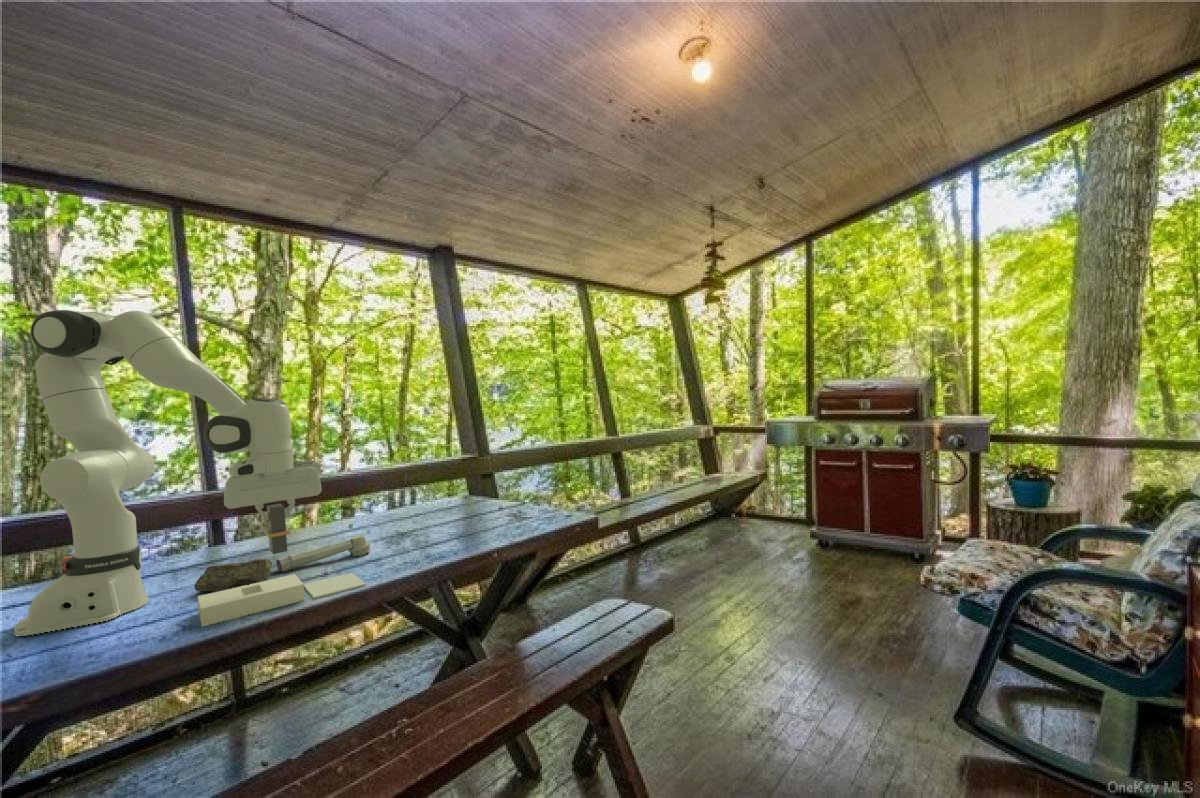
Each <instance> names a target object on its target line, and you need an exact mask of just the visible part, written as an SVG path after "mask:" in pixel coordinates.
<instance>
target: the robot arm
mask: <svg viewBox="0 0 1200 798" xmlns="http://www.w3.org/2000/svg"><path fill="white" fill-rule="evenodd" d="M30 336H31V339H32V342H33V343H34V345H35V346H36V347H37V348H38V349H39V350H40V351H42V352H44V353H43V354H41V355H40V356H39V357H38V358H37V359H36V361H35V376H36V381H37V382H36V383H37V387H38V391H39V395H40V397H41V401H42V403H43V405H44V406H43V407H44V408H45V412H46V415H47V417H48V420H49V424H50V426H51V429H52V431H53V432H54V433H55V434H56V435H58V436H59V437H60V438H63V439H65V440H66V441H68V442H69V443H70V444H71V445H72V446H73V447H74V448H75V450H77V451H76V452H72V453H69V454H66V455H64V456H61V457H59V458H56V459H54V460H52V461H50V462H48V464H46V465H45V466H44V468H43V469H42V470H41V473H40V476H39V482H40V486H41V489H42V490H43V492H44V493H45V495H47V496H49V497H50V498H53V499H54V500H56V501H57V502H59V504H60V505H61V506H62V507H63V509H64V512H65V513H66V515H67V517H68V519H69V523H70V526H71V531H72V540H73V554H74V556H70V555H68V556H64V558H63V559H62V560H61V571H62V574H63V575H61V576H60V577H59V578H57V579H56V580H55V581H53V582H52V583H51V584H49V586H47V587H46V588H44V589H43V590H41V591H40V592H39V593H38V594H37V595H36V596H35V597H34V598H33V599H32V601H31V602H30V605H29V608H28V612H27V616H26V617H24V618H23V619H21V620H19V621H18V622H17V623H16V624H15V626H14V628H13V635H14V634H16V635H19V636H25V635H32V634H37V635H39V634H38V633H43V634H45V633H44V632H48V633H51V632H50V631H53V632H56V631H55V630H58V631H62V630H61V629H64V630H67V629H66V628H69V629H71V628H70V627H74V628H78V627H77V626H80V627H83V626H82V625H85V626H89V625H88V624H90V625H94V624H93V623H96V624H99V623H98V622H101V623H104V622H103V621H106V622H109V621H108V620H110V621H112V620H111V619H113V618H115V617H117V616H119V615H120V616H122V615H124V614H123V613H125V614H127V613H130V612H132V610H133V611H134V610H137V609H140V608H141V607H143V606H145V605H146V604H148V602H149V600H150V598H149V597H148V595H147V592H146V589H145V587H144V583H143V579H142V575H141V570H140V569H141V566H142V552H141V551H142V550H141V549H140V548H141V547H140V545H138V534H137V533H138V531H137V517H136V515H135V513H134V512H132V511H131V510H128V509H127V508H126V507H125V505H124V503H123V501H122V499H121V496H120V491H125V490H128V489H132V488H134V487H136V486H138V485H140V484H142V483H144V482H145V481H147V480H148V479H149V478H150V477H151V476H152V475H153V473H154V471H155V465H156V464H155V460H154V457H153V456H152V454H151V453H150V452H149V451H147V450H146V449H144V448H142V447H140V446H139V445H138V444H137V443H136V442H135V441H134V440H133V439H132V438H131V437H130V435H129V434H128V433H127V431H126V430H125V429H124V427H123V426H122V424H121V423H120V421H119V420H118V417H117V415H116V413H115V409H114V408H113V405H112V402H111V399H110V397H109V395H108V392H107V389H106V386H105V382H104V380H103V377H102V375H101V371H102V370H101V369H102V367H103V366H104V364H105V365H109V366H113V365H114V366H115V365H117V364H118V363H120V362H121V361H123V360H126V361H127V362H128V363H129V365H130V366H131V367H132V368H133V369H134V370H135V371H136V372H137V373H138V374H139V375H140V376H141V377H143V378H144V379H146V380H147V381H148V382H150V383H152V384H153V385H155V386H157V387H160V388H165V389H170V390H175V391H178V392H182V393H185V394H186V393H187V394H189V395H192V396H195V397H196V398H197V397H198V398H199V399H201V400H203V401H205V402H206V403H208V405H210V407H211V408H212V409H214V410H215V412H217V413H219V414H220V415H216V416H214V417H212V418H210V419H209V420H208V421H207V423H206V424H205V426H204V429H203V439H204V442H205V444H206V446H207V447H208V448H209V449H210V450H212V451H214V452H215V453H219V454H234V453H241V452H247V451H249V453H250V458H249V459H246V460H244V461H241V462H238V463H236V464H232V465H231V466H230V467H229V468H228V474H229V475H230V477H228V478H227V480H226V481H225V484H224V493H223V494H224V495H223V505H224V506H225V507H226V508H227V509H229V510H232V509H238V508H243V507H244V508H245V507H250V506H252V507H253V506H255V507H254V508H255V509H256V511H257V512H258V513H259V514H260V515H261V521H262V523H268V521H270V518H269V514H268V513H265V512H264V510H262V509H264V504H265V505H266V504H271V503H278V502H282V501H283V502H284V501H286V503H287V504H288V506H287V508H285V520H286V519H291V518H292V510H293V508H294V506H295V504H296V499H301V498H302V499H303V498H307V497H314V496H319V495H320V494H321V493H322V491H323V490H322V484H321V483H322V482H321V478H320V474H321V472H322V470H321V469H322V467H321V464H320V462H319V461H317V460H314V459H307V460H305V459H304V460H303V459H302V460H294V448H293V446H292V445H293V444H292V443H291V436H292V423H291V421H292V420H291V415H290V411H289V408H288V405H287V403H286V402H285V401H283V400H281V399H278V398H277V399H276V398H269V397H267V398H265V397H255V398H251V399H250V400H248V401H246V400H245V399H244V398H243V397H242V396H241V395H240V394H239V393H238V392H237V391H235V390H234V389H233V388H232V387H231V386H230V385H229V384H228V383H227V382H225V380H223V378H221V377H220V376H219V375H217V374H216V373H215V371H213V370H212V369H210V368H209V367H208V366H207V365H206V364H205V363H203V362H202V361H201V360H200V359H199V358H198V357H197V356H196V355H195V354H194V353H193V352H192V351H191V350H190V349H189V348H188V347H187V346H186V344H184V343H183V342H182V340H180V339H179V338H178V336H176V334H174V333H173V332H172V331H171V329H169V328H168V327H167V326H165V325H164V324H163V323H162V322H160V321H159V320H158V319H156V318H155V317H154V316H152V315H151V314H149V313H147V312H144V311H140V310H131V311H125V312H122V313H120V314H118V315H111V314H108V313H107V314H106V313H101V312H97V311H74V310H68V309H66V310H65V309H56V310H49V311H45V312H43V313H40V315H38V316H37V317H36V318H35V319H34V320H33V322H32V324H31V327H30ZM129 611H130V612H129ZM126 612H127V613H126ZM121 614H122V615H121ZM120 616H119V617H120ZM117 618H118V617H117ZM115 619H116V618H115ZM113 620H114V619H113ZM32 636H33V635H32Z"/></svg>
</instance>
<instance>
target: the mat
mask: <svg viewBox="0 0 1200 798" xmlns="http://www.w3.org/2000/svg"><path fill="white" fill-rule="evenodd" d="M303 584H304V590H306V591H307V593H309V594H310V596H311V597H312V598H313V599H314V600H316V599H321V598H323V597H324V598H325V597H327V596H331V595H336V594H339V593H343V592H346V591H350V590H354V589H358V588H362V587H366V585H367V584H366V583H365V582H364V581H363V580H361V579H360V578H359V577H358V576H357V575H355V573H354V572H349V573H345V574H339V575H337V576H333V577H329V578H324V579H319V580H317V581H312V582H307V583H303Z"/></svg>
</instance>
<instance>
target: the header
mask: <svg viewBox="0 0 1200 798" xmlns="http://www.w3.org/2000/svg"><path fill="white" fill-rule="evenodd" d="M304 584H305V583H303V581H301V580H300V577H299V576H297V575H296V574H295V573H294V574H290V575H286V576H285V575H284V576H281V577H276V578H272V579H266V580H264V581H262V582H258V583H254V584H249V585H240V586H236V587H234V588H231V589H227V590H223V591H213V592H211V593H207V594H201V595H197V605H198V607H197V608H198V617H199V621H200V625H201V627H202V628H203V627H207V626H210V624H211V625H215V624H219V623H222V621H223V622H226V621H230V620H234V619H239V618H241V617H245V616H249V615H248V614H250V615H253V614H256V613H260V612H264V611H269V610H271V609H277V608H280V607H284V606H287V605H292V604H295V603H300V602H303V601H305V587H304ZM252 613H253V614H252ZM218 622H219V623H218Z"/></svg>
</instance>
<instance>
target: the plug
mask: <svg viewBox="0 0 1200 798" xmlns="http://www.w3.org/2000/svg"><path fill="white" fill-rule="evenodd" d="M285 510H286V508H285V506H284V505H283V504H282V503H276V504H269V505H266V512H267V513H268V514H269V518H270V521H268V522H267V529H264V535H266V536H267V538H268V542H269V545H268V546H269V551H270V552H271V554H272V555H276V554H280V553H286V552H288V541H287V539H288V538H287V535H291V530H290V529H289V528H287V526H286V519H285ZM267 513H266V514H267Z"/></svg>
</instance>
